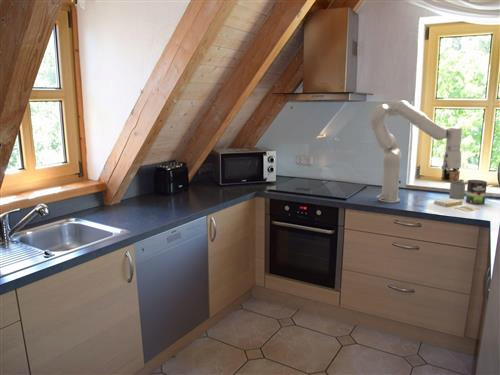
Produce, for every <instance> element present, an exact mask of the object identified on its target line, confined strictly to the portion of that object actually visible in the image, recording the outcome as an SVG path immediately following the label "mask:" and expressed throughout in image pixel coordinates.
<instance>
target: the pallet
mask: <svg viewBox="0 0 500 375" xmlns="http://www.w3.org/2000/svg"><path fill="white" fill-rule="evenodd" d="M454 209H455V210H459V211H463V212H467V213H469V212H474V211H479V210H480V208H478V207H473V206H470V205H463V206H457V207H454Z"/></svg>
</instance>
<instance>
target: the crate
mask: <svg viewBox="0 0 500 375" xmlns="http://www.w3.org/2000/svg"><path fill="white" fill-rule="evenodd" d="M449 173H450V174H449V180H444V171H443V169H441V181H443V182H447V183H452V182H460V170H458V171H455V170H453V169H450V171H449Z"/></svg>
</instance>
